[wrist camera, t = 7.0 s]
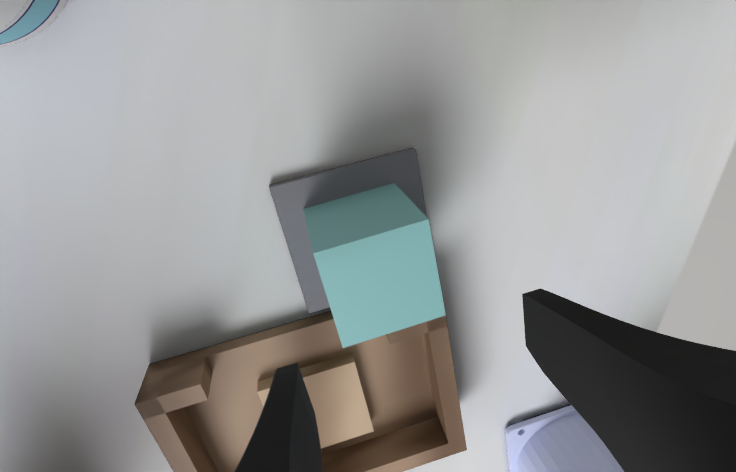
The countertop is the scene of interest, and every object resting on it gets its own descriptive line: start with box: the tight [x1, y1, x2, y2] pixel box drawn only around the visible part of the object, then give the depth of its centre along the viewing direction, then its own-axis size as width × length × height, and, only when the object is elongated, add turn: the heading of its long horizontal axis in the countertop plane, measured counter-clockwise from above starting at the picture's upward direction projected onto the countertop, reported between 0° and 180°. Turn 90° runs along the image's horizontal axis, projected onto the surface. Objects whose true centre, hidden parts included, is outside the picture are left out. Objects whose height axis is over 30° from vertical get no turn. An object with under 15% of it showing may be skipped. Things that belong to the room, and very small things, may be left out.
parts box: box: [135, 311, 467, 472], centre depth 24 cm, size 15×10×3 cm, turn 102°
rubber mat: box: [269, 148, 427, 313], centre depth 22 cm, size 7×7×1 cm
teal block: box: [303, 183, 446, 348], centre depth 20 cm, size 4×4×5 cm
